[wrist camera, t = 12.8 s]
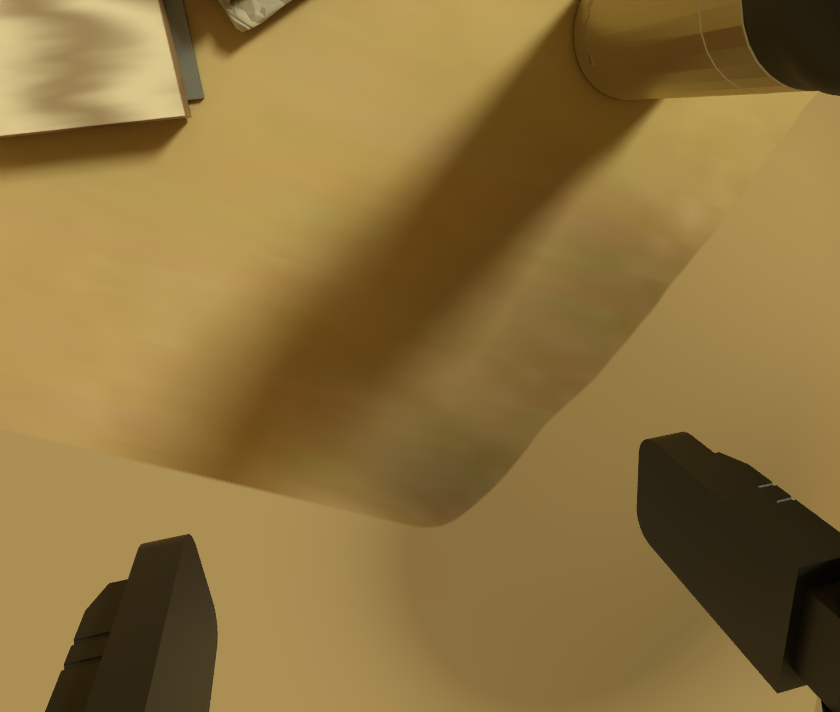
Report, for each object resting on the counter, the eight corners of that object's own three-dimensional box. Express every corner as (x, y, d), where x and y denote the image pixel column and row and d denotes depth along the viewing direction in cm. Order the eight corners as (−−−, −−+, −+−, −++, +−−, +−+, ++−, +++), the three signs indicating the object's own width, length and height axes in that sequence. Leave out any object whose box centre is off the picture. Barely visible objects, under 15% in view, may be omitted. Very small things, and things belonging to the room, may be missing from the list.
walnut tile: (191, 117, 39) (139, -108, 35) (184, 117, 37) (127, -127, 32) (-10, 139, 38) (-93, -96, 33) (-33, 141, 35) (-126, -115, 30)
